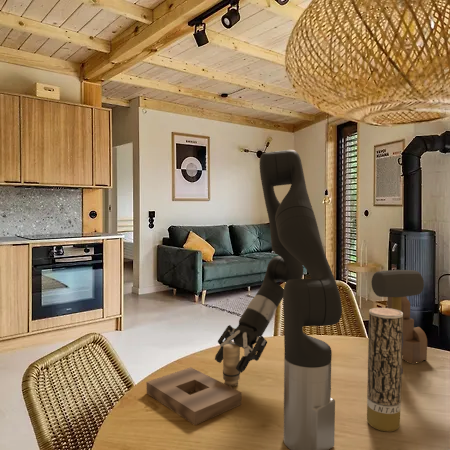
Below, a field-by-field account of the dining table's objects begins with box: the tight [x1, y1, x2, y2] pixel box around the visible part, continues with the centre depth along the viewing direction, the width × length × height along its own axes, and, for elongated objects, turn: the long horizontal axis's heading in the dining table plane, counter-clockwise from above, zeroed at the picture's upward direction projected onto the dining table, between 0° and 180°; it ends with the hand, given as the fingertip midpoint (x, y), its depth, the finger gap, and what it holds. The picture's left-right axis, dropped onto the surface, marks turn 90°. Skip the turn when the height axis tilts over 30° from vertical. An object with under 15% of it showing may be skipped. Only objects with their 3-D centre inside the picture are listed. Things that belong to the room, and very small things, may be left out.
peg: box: [222, 344, 241, 387], centre depth 110 cm, size 5×5×10 cm
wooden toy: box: [386, 296, 428, 364], centre depth 131 cm, size 16×7×25 cm, turn 25°
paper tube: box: [366, 307, 403, 432], centre depth 90 cm, size 7×7×25 cm
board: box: [146, 366, 242, 426], centre depth 102 cm, size 20×14×3 cm
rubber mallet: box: [371, 269, 425, 376], centre depth 114 cm, size 12×8×30 cm, turn 102°
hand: (227, 365), depth 109 cm, fingers open, 8 cm apart
